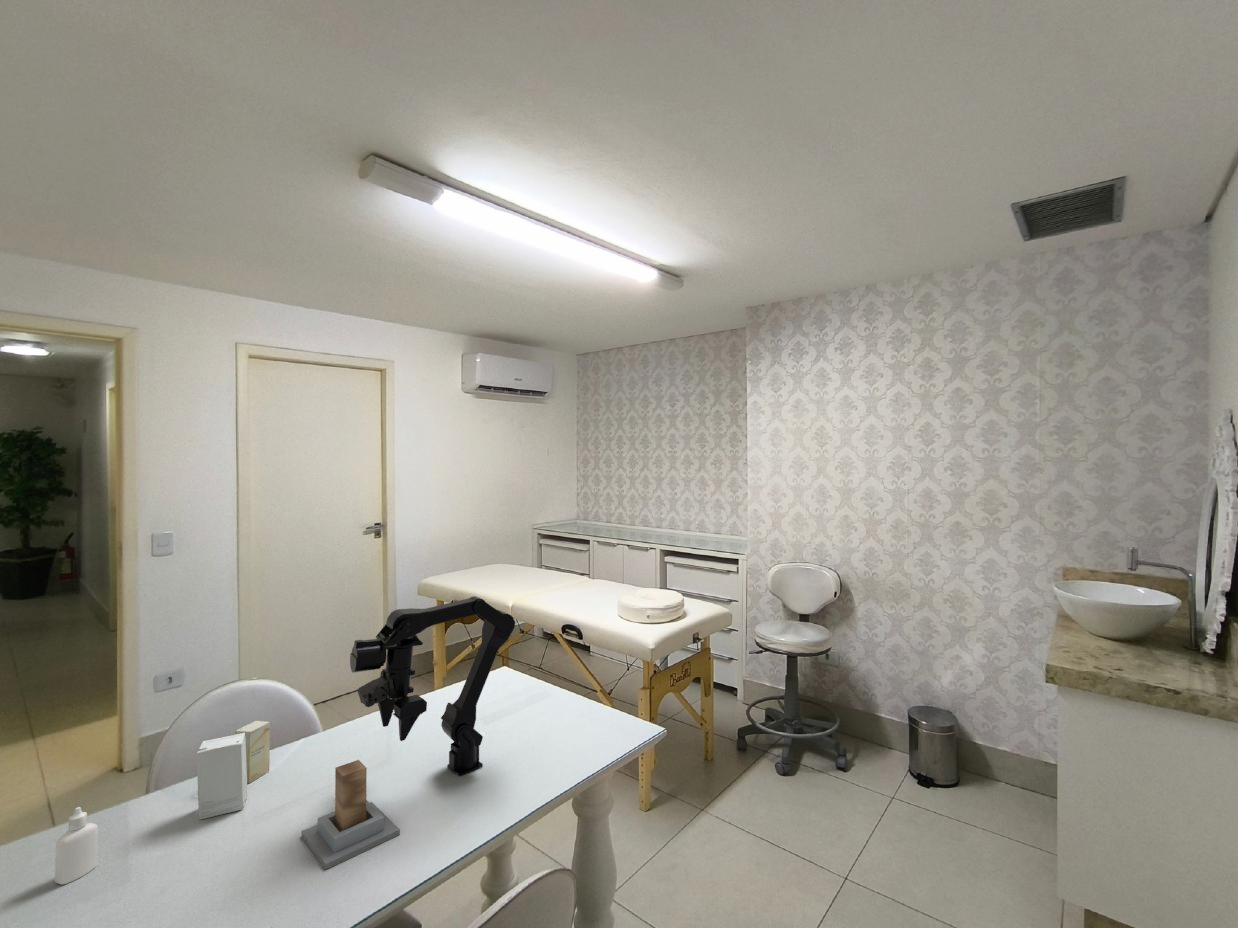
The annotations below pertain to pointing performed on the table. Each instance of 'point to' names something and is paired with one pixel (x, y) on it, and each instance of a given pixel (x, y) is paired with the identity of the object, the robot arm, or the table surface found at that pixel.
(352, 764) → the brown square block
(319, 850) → the housing
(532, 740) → the table surface
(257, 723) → the skincare box
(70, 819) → the eye dropper bottle
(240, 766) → the skincare box
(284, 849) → the table surface
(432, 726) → the table surface
